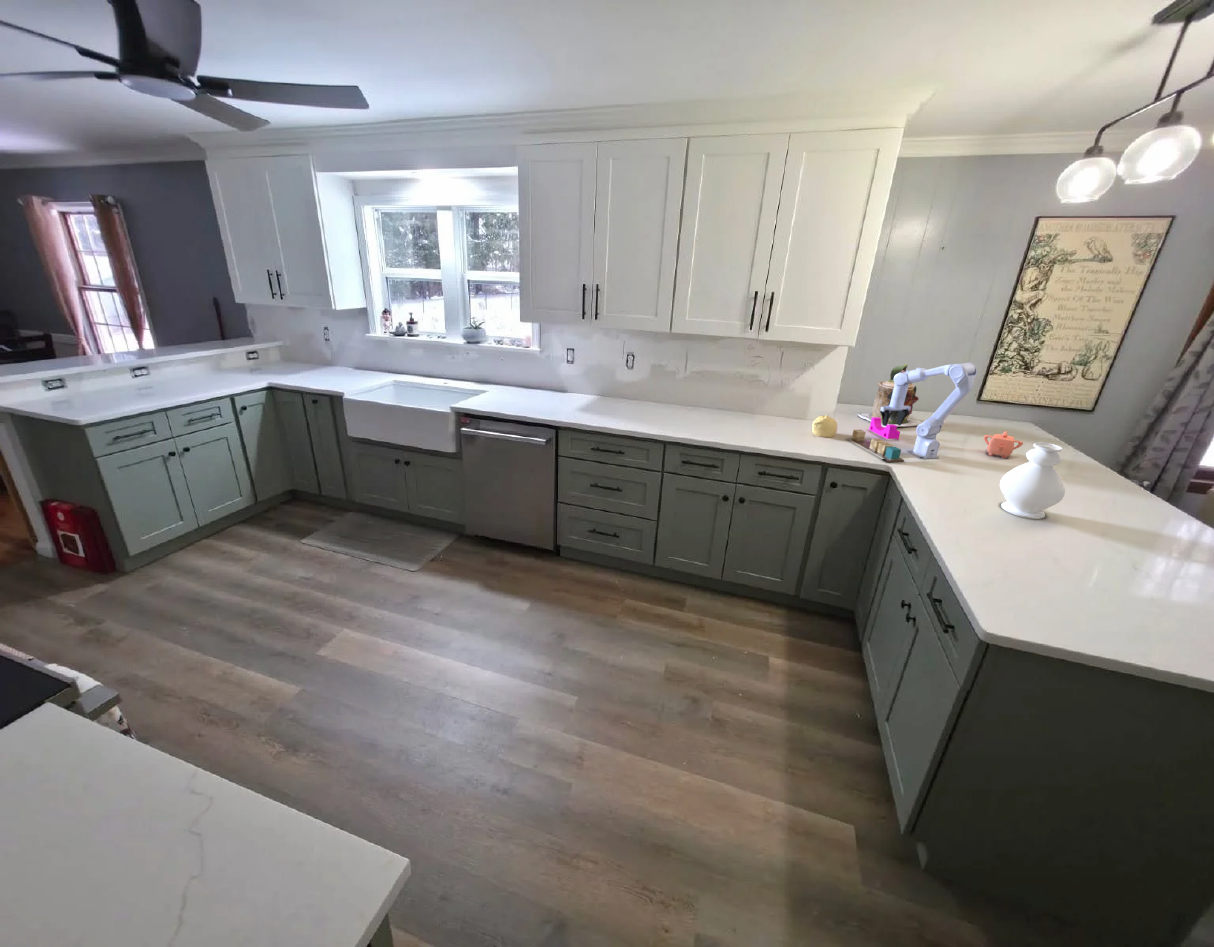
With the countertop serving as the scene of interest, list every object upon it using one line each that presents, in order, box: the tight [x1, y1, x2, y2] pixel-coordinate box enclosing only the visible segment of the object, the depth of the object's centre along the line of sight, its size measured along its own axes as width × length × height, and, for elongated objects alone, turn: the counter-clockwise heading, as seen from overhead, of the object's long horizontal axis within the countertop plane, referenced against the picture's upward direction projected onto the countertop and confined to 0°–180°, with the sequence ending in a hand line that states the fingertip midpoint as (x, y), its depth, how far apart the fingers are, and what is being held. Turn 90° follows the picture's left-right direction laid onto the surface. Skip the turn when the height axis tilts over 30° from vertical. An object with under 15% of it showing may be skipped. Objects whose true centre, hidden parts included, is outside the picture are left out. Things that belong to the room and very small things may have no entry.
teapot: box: [983, 430, 1024, 459], centre depth 229 cm, size 14×12×10 cm
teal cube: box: [885, 446, 902, 459], centre depth 222 cm, size 4×4×4 cm
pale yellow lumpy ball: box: [811, 414, 838, 438], centre depth 251 cm, size 12×12×11 cm
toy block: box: [868, 417, 901, 441], centre depth 254 cm, size 15×6×8 cm, turn 7°
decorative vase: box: [999, 441, 1066, 520], centre depth 174 cm, size 18×18×25 cm
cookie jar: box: [857, 363, 924, 428], centre depth 272 cm, size 25×25×32 cm
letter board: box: [847, 428, 905, 464], centre depth 234 cm, size 31×8×6 cm, turn 9°
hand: (891, 425), depth 240 cm, fingers open, 7 cm apart
